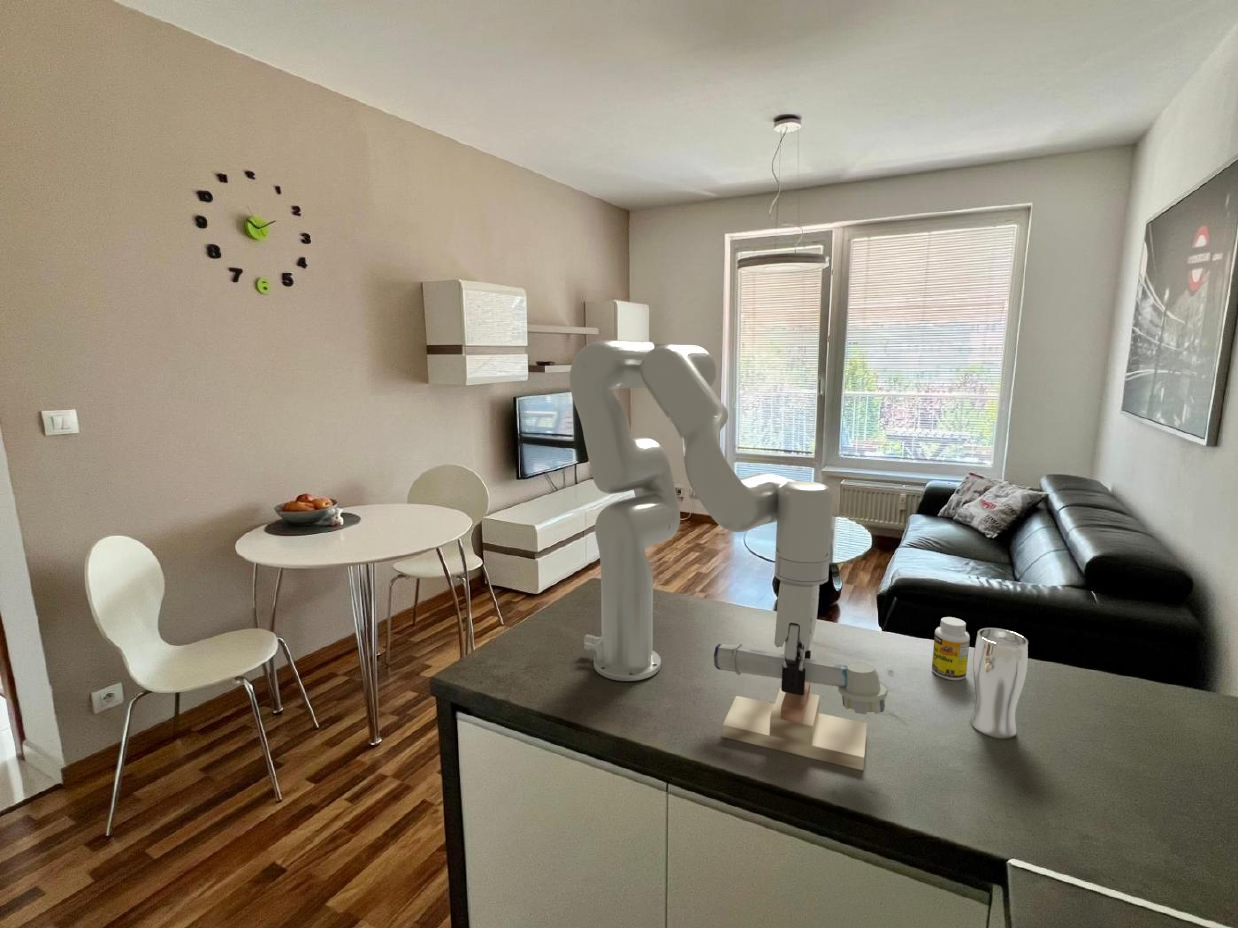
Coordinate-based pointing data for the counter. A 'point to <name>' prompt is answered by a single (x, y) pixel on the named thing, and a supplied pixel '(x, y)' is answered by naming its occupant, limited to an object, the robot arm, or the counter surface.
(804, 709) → the stepped podium stack
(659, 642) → the counter surface
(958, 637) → the supplement bottle
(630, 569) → the robot arm
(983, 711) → the beer glass
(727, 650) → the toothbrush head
